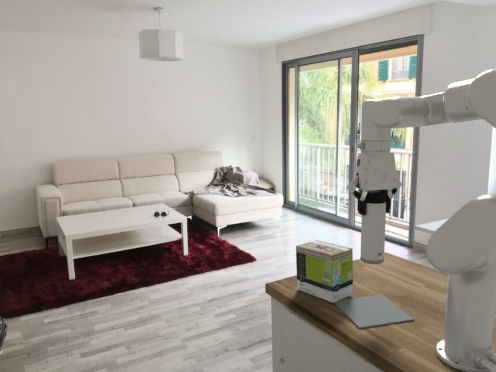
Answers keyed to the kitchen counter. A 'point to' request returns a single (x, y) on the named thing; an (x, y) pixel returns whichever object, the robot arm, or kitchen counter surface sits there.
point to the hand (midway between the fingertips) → (373, 212)
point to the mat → (372, 311)
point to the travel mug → (373, 228)
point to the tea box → (325, 270)
